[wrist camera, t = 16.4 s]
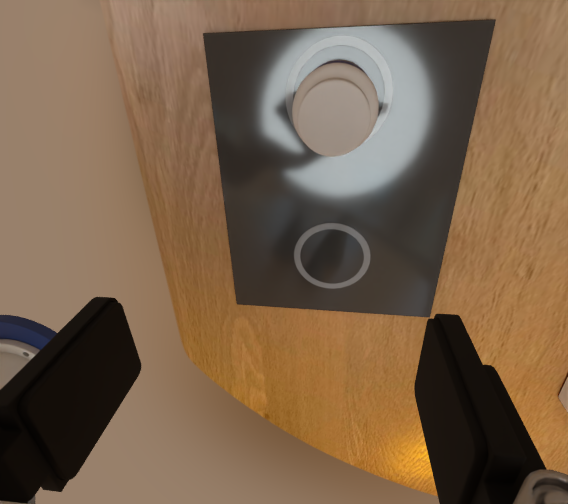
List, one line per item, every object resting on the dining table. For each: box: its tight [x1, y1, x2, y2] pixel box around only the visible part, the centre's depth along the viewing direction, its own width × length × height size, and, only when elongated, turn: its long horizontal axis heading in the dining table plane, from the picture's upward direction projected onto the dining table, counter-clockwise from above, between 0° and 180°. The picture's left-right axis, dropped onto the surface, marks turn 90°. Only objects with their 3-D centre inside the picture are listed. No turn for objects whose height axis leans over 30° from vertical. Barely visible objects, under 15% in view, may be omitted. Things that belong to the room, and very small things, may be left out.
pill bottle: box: [292, 60, 379, 157], centre depth 23 cm, size 5×5×9 cm
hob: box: [203, 20, 496, 317], centre depth 30 cm, size 20×25×1 cm
